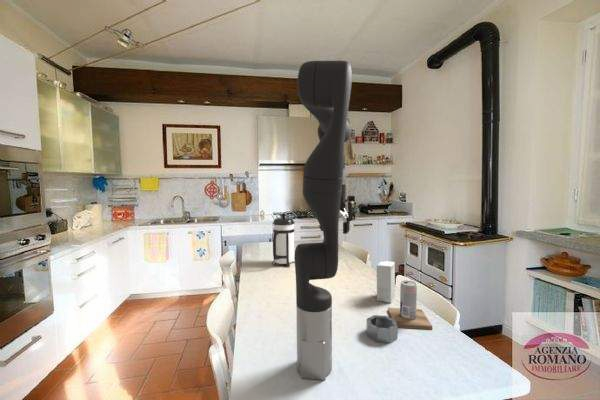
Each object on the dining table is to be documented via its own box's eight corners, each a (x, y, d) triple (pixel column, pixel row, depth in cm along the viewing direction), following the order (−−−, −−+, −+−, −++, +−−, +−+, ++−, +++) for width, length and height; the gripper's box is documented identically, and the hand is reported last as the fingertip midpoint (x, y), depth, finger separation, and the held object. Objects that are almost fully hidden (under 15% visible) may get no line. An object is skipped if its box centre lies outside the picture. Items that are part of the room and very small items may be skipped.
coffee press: (267, 261, 169) (266, 212, 167) (292, 259, 174) (292, 211, 171) (273, 270, 152) (272, 216, 150) (301, 267, 157) (300, 214, 155)
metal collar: (399, 343, 84) (399, 330, 83) (368, 341, 85) (368, 329, 85) (393, 327, 93) (393, 316, 92) (365, 326, 94) (365, 314, 94)
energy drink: (408, 311, 102) (408, 279, 101) (419, 318, 97) (420, 284, 96) (396, 314, 100) (397, 281, 99) (407, 321, 95) (408, 287, 94)
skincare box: (391, 303, 111) (391, 267, 109) (375, 300, 114) (376, 264, 112) (395, 295, 118) (395, 261, 117) (380, 293, 121) (381, 259, 120)
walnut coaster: (432, 329, 91) (432, 326, 91) (394, 327, 93) (394, 324, 93) (421, 312, 103) (421, 309, 103) (388, 310, 105) (388, 307, 105)
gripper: (309, 183, 92) (310, 231, 94) (348, 183, 84) (348, 236, 85) (322, 182, 98) (322, 228, 100) (359, 182, 90) (358, 232, 91)
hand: (334, 232), depth 92 cm, fingers open, 8 cm apart
